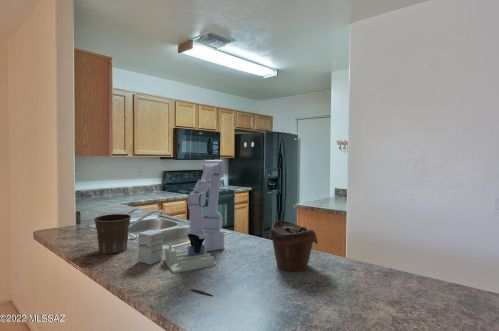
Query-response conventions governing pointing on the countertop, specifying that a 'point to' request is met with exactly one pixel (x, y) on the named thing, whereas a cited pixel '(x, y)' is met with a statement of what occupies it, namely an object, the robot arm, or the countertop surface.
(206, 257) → the dish rack
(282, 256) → the brown covered basket
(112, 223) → the plant pot
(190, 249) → the slate blue tile
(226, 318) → the countertop surface
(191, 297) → the countertop surface
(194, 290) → the fork
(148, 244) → the supplement box
